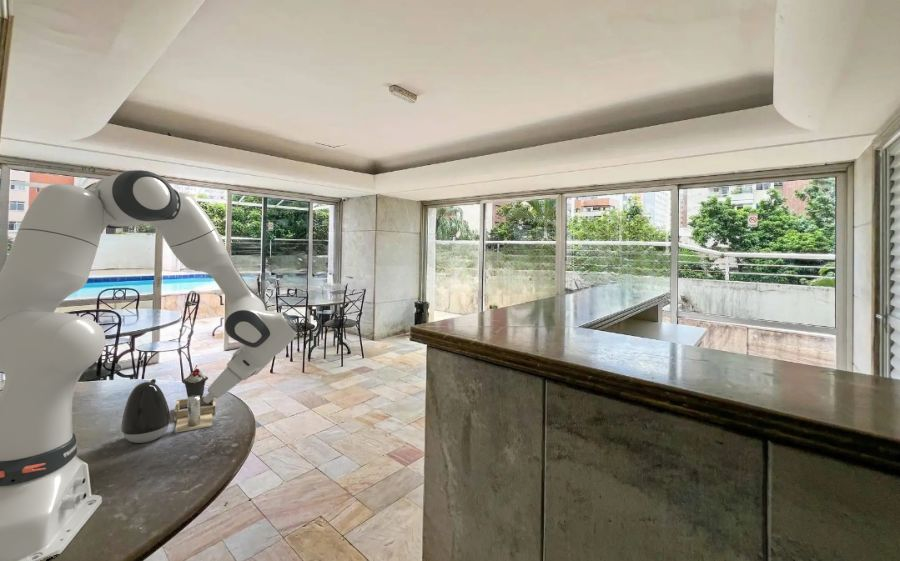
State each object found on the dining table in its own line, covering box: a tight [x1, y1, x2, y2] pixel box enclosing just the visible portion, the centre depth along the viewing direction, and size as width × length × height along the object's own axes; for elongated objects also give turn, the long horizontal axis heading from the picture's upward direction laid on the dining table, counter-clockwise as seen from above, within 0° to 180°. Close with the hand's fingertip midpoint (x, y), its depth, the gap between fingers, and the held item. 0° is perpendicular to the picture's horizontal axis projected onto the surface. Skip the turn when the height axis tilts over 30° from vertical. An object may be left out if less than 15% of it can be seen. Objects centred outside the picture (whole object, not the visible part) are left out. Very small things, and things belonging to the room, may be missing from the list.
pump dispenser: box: [120, 378, 171, 444], centre depth 101 cm, size 10×10×15 cm
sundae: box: [181, 364, 209, 408], centre depth 118 cm, size 7×7×15 cm
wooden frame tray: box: [173, 395, 216, 434], centre depth 115 cm, size 19×10×8 cm, turn 31°
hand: (213, 394), depth 110 cm, fingers open, 8 cm apart
